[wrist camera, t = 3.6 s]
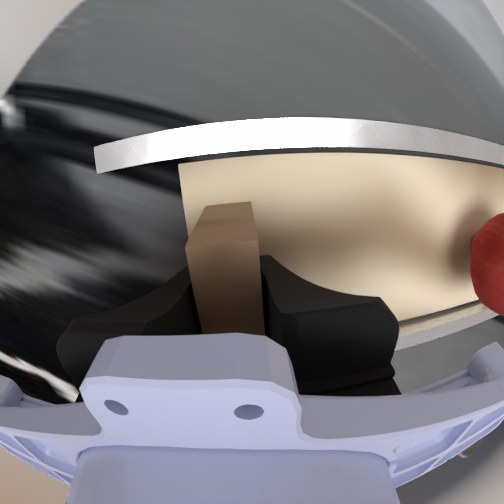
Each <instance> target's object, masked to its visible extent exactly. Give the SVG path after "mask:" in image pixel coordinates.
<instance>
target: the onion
mask: <svg viewBox="0 0 504 504" xmlns="http://www.w3.org/2000/svg"><path fill="white" fill-rule="evenodd" d="M470 275H471V280H472V284H473V287H474V291H475V294H476V295H477V297H478V298H479V300H480V301H481V303H482V304H484V305H485V306H486V307H488V308H489V309H490V310H492V311H494V312H495V313H497V314H499V315H502V316H504V213H501V214H497V215H496V216H494V217H492V218H491V219H489V220H488V221H487V222H486V223H485V224H484V225H483V226H482V227H481V229H480V230H479V231H478V232H477V233H475V234H474V235H473V237H472V239H471V242H470Z"/></svg>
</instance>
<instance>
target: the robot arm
mask: <svg viewBox="0 0 504 504" xmlns="http://www.w3.org/2000/svg"><path fill="white" fill-rule="evenodd" d="M259 257H260V270H261V284H262V299H263V313H264V328H265V336H261V335H252V334H244V333H224V334H205V335H203V334H202V329H201V325H200V321H199V316H198V312H197V307H196V302H195V298H194V293H193V288H192V283H191V278H190V273H189V267H188V266H187V267H185V268H184V269H183V270H181V271H180V272H179V273H178V274H176V275H175V276H174V277H173V278H171V279H170V280H168V281H167V282H166V283H164V284H163V285H161V286H160V287H158V288H157V289H155V290H154V291H152V292H150V293H148V294H146V295H145V296H143V297H141V298H139V299H136V300H134V301H132V302H130V303H127V304H125V305H123V306H120V307H117V308H114V309H111V310H108V311H104V312H101V313H97V314H92V315H87V316H82V317H77V318H74V319H73V320H72V321H71V323H70V324H69V326H68V327H67V328H66V330H65V331H64V333H63V334H62V335H61V337H60V338H59V340H58V341H57V348H56V349H57V354H58V358H59V360H60V362H61V364H62V366H63V368H64V369H65V371H66V373H67V374H68V376H69V377H70V379H71V381H72V382H73V384H74V385H75V387H76V388H77V390H78V391H79V392H80V393H79V395H78V397H77V399H76V401H75V403H70V404H60V405H55V404H51V403H48V402H44V401H41V400H38V399H35V398H32V397H29V396H26V395H23V392H22V391H21V389H20V388H19V387H18V385H17V384H16V383H15V382H14V381H13V380H11V379H10V378H7V377H4V376H1V375H0V445H1V446H2V447H3V448H4V449H5V450H6V451H8V452H9V453H10V454H12V455H14V456H15V457H17V458H19V459H21V460H23V461H24V462H26V463H27V464H29V465H31V466H33V467H35V468H36V469H38V470H40V471H42V472H44V473H46V474H47V475H50V476H51V477H53V478H56V479H58V480H59V481H61V482H64V483H66V484H68V485H70V489H69V493H68V496H67V500H66V504H400V502H399V498H398V495H397V492H396V489H395V488H396V487H398V486H400V485H403V484H405V483H407V482H409V481H411V480H413V479H415V478H417V477H419V476H421V475H423V474H425V473H427V472H428V471H430V470H432V469H434V468H436V467H437V466H439V465H441V464H442V463H444V462H446V461H447V460H449V459H451V458H452V457H454V456H455V455H457V454H459V453H460V452H462V451H463V450H465V449H466V448H468V447H469V446H471V445H472V444H474V443H475V442H477V441H478V440H479V439H481V438H482V437H484V436H485V435H487V434H488V433H489V432H491V431H492V430H493V429H495V428H496V427H497V426H498V425H499V424H500V423H501V422H502V420H503V419H504V349H503V348H502V347H501V346H500V345H499V344H498V343H497V342H494V343H492V344H490V345H488V346H486V347H484V348H482V349H480V350H478V351H477V352H476V353H475V354H474V355H473V357H472V358H471V360H470V362H469V364H468V366H467V369H465V370H463V371H461V372H459V373H457V374H454V375H452V376H450V377H448V378H445V379H443V380H440V381H438V382H435V383H433V384H430V385H428V386H425V387H422V388H420V389H417V390H414V391H411V392H408V393H405V394H401V392H400V390H399V389H398V387H397V385H396V383H395V381H394V379H393V378H392V377H394V374H395V370H394V369H393V367H392V365H391V360H392V357H393V354H394V350H395V347H396V344H397V341H398V337H399V330H400V329H399V323H398V320H397V318H396V317H395V315H394V314H393V312H392V311H391V310H390V308H389V307H388V306H387V305H386V303H385V302H384V301H383V300H382V299H381V298H380V297H374V296H362V295H353V294H348V293H342V292H338V291H334V290H331V289H328V288H324V287H321V286H319V285H316V284H314V283H312V282H309V281H307V280H305V279H303V278H301V277H299V276H298V275H296V274H295V273H293V272H291V271H290V270H288V269H287V268H286V267H284V266H283V265H282V264H280V263H279V262H278V261H277V260H275V259H274V258H273V257H272V256H271V255H261V256H259Z"/></svg>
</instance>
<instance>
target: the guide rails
mask: <svg viewBox="0 0 504 504" xmlns="http://www.w3.org/2000/svg"><path fill="white" fill-rule="evenodd" d="M291 147H364V148H384V149H399V150H411V151H421V152H430V153H438V154H446V155H453V156H459V157H466V158H472V159H477V160H483V161H488V162H493V163H497V164H502V165H504V146H502V145H499V144H496V143H492V142H489V141H485V140H482V139H478V138H474V137H470V136H466V135H462V134H457V133H452V132H448V131H443V130H437V129H432V128H426V127H420V126H414V125H407V124H399V123H391V122H381V121H370V120H357V119H339V118H275V119H256V120H242V121H231V122H221V123H212V124H204V125H197V126H190V127H183V128H177V129H171V130H166V131H160V132H155V133H150V134H145V135H140V136H136V137H131V138H127V139H123V140H119V141H115V142H111V143H107V144H103V145H100V146H96V147H94V154H95V162H96V169H97V174H98V173H103V172H107V171H111V170H116V169H120V168H125V167H130V166H135V165H140V164H146V163H151V162H157V161H163V160H169V159H175V158H182V157H189V156H196V155H204V154H212V153H221V152H231V151H242V150H255V149H270V148H291ZM497 315H499V314H497V313H495V312H494V311H492V310H490V309H489V308H488V307H486V306H485V305H484V304H482V303H481V301H480V300H479V299H478V300H475V301H472V302H468V303H465V304H462V305H459V306H455V307H452V308H448V309H445V310H441V311H437V312H434V313H430V314H426V315H422V316H418V317H414V318H410V319H405V320H401V321H398V323H399V329H400V330H399V337H398V341H397V344H396V347H395V350H394V351H396V350H399V349H403V348H407V347H410V346H414V345H417V344H421V343H424V342H427V341H430V340H434V339H437V338H440V337H443V336H446V335H449V334H451V333H454V332H457V331H460V330H463V329H465V328H468V327H470V326H473V325H476V324H478V323H481V322H483V321H485V320H488V319H490V318H493V317H495V316H497Z"/></svg>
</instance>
